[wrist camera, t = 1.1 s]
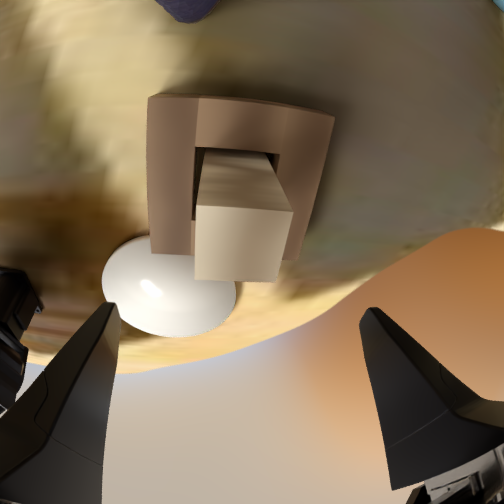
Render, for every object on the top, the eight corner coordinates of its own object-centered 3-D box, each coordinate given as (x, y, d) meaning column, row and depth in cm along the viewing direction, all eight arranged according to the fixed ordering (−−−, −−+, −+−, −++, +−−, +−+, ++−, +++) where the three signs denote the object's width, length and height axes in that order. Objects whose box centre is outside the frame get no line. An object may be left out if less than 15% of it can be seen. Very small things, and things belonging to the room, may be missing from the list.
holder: (156, 234, 22) (151, 253, 20) (157, 93, 15) (148, 97, 13) (290, 241, 24) (297, 260, 22) (322, 110, 17) (335, 117, 15)
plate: (118, 326, 29) (116, 332, 28) (92, 231, 21) (89, 236, 20) (229, 333, 31) (230, 339, 30) (243, 238, 23) (243, 243, 22)
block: (202, 196, 20) (194, 279, 13) (206, 145, 18) (196, 205, 11) (255, 200, 21) (275, 282, 14) (263, 150, 19) (293, 211, 12)
